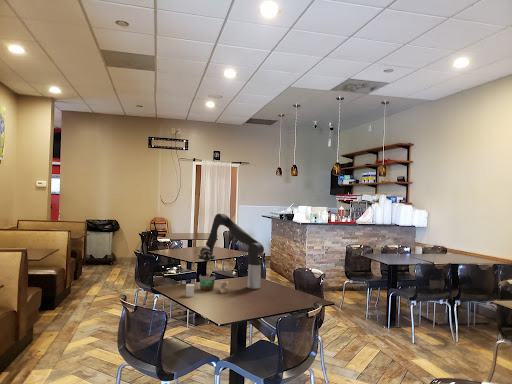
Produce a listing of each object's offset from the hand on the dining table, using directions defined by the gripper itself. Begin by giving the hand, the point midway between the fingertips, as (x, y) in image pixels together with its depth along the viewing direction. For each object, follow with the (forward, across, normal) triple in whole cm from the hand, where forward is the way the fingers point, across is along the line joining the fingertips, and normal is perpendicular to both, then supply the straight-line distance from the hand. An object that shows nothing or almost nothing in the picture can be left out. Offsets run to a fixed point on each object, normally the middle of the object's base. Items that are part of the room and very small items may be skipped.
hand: (206, 258), depth 266 cm
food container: (+13, 0, +20) cm, 24 cm away
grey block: (+29, -10, +20) cm, 37 cm away
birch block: (+17, +13, +20) cm, 29 cm away
